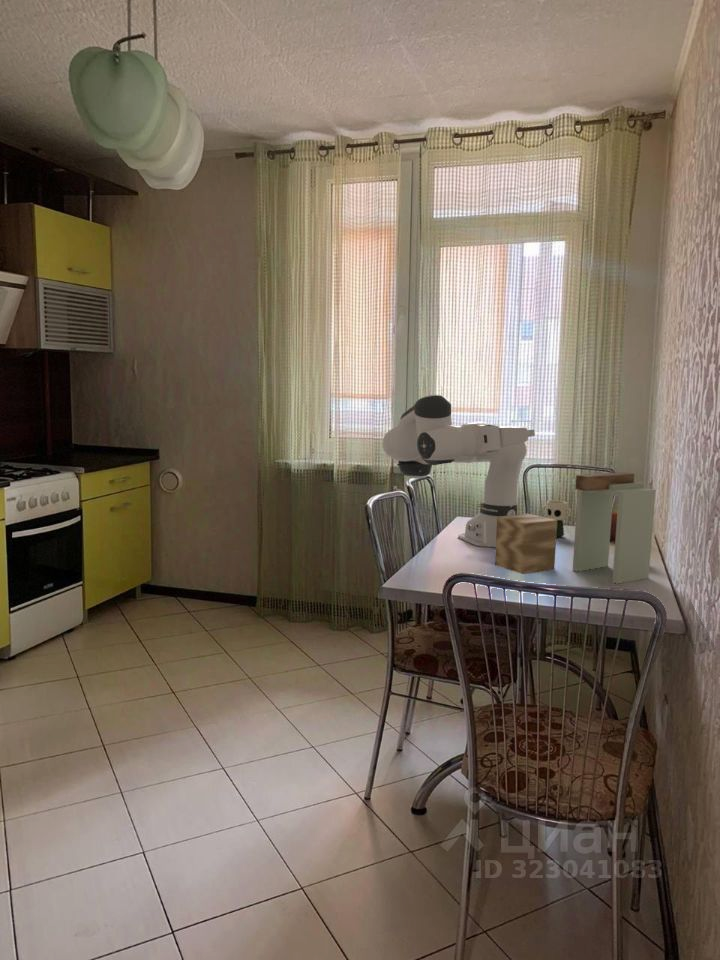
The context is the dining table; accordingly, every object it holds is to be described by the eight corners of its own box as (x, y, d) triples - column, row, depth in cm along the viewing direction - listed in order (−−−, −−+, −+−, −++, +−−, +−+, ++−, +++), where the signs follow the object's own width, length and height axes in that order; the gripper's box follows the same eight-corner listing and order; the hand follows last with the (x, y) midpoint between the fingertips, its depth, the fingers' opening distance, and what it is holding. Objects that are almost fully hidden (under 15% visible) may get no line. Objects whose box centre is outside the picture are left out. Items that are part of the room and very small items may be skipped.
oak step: (494, 564, 221) (497, 516, 219) (525, 560, 228) (528, 513, 226) (522, 574, 211) (525, 523, 209) (554, 569, 218) (557, 520, 216)
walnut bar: (575, 489, 203) (576, 475, 203) (621, 485, 214) (622, 472, 213) (586, 491, 200) (587, 476, 200) (633, 487, 211) (634, 473, 210)
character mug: (536, 535, 266) (539, 501, 264) (544, 533, 271) (546, 498, 270) (565, 540, 259) (567, 504, 258) (572, 537, 265) (575, 502, 263)
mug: (593, 539, 262) (595, 511, 260) (597, 535, 269) (599, 508, 268) (628, 543, 256) (630, 515, 255) (631, 539, 264) (633, 511, 263)
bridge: (572, 570, 216) (578, 479, 212) (603, 565, 223) (610, 477, 220) (616, 583, 203) (623, 487, 199) (648, 577, 210) (656, 484, 206)
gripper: (460, 451, 200) (503, 445, 204) (499, 450, 181) (546, 444, 185) (458, 428, 199) (501, 423, 204) (496, 425, 180) (543, 419, 185)
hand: (523, 433), depth 194 cm, fingers open, 8 cm apart
